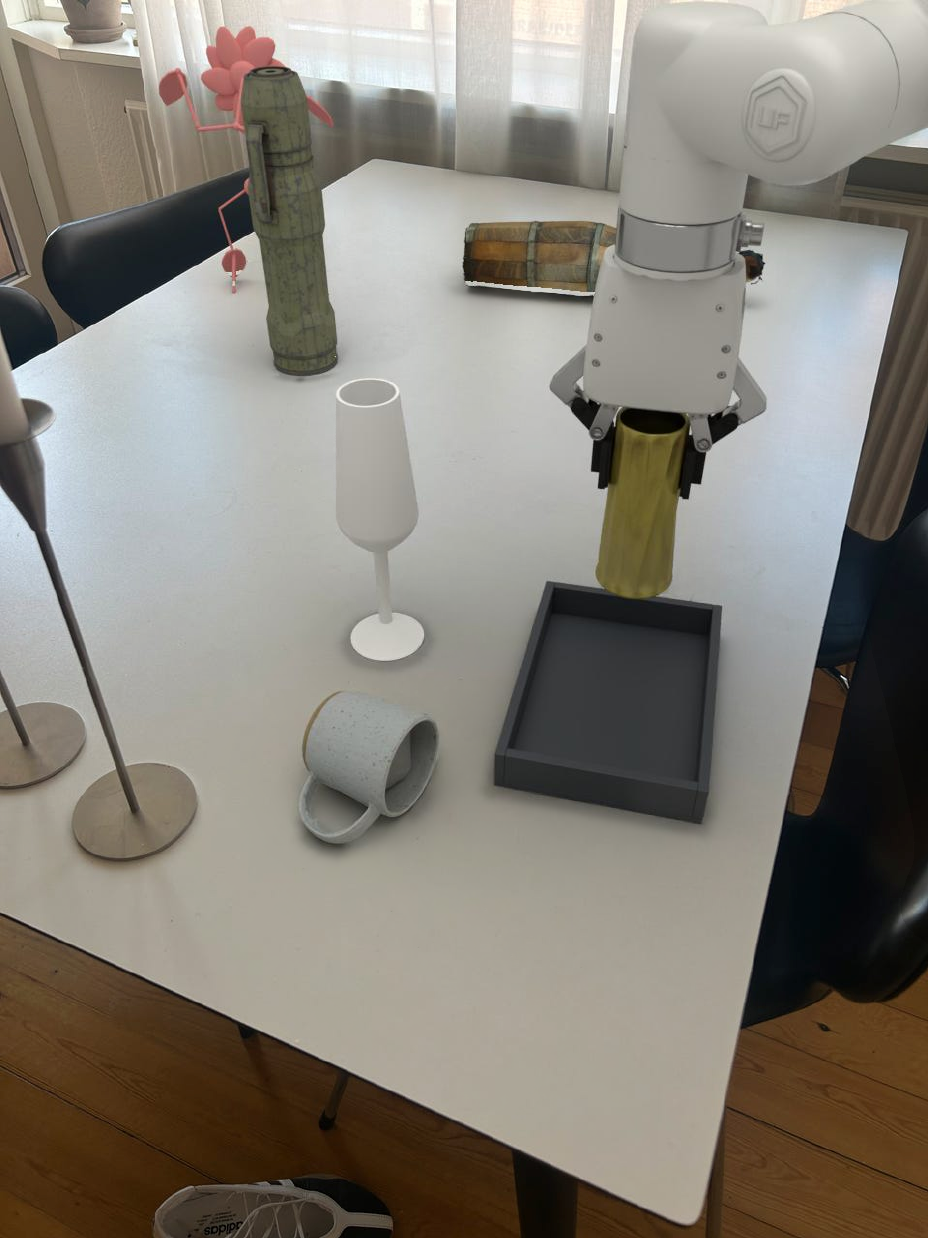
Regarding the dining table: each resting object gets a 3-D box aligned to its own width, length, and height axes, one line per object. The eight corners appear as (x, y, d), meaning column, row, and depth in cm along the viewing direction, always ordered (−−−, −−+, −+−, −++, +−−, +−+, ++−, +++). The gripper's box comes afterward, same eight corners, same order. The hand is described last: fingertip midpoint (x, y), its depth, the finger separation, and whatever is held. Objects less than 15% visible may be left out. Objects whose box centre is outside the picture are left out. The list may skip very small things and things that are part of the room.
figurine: (341, 301, 147) (315, 36, 125) (181, 292, 151) (128, 33, 128) (365, 265, 159) (346, 17, 136) (216, 257, 162) (174, 14, 140)
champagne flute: (420, 609, 90) (408, 369, 75) (428, 656, 85) (417, 410, 70) (348, 616, 89) (321, 375, 74) (352, 664, 84) (323, 417, 69)
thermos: (351, 346, 135) (326, 61, 112) (321, 383, 126) (286, 82, 103) (292, 340, 136) (255, 58, 114) (258, 376, 128) (211, 79, 105)
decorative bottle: (453, 280, 145) (762, 303, 135) (460, 206, 143) (775, 224, 133) (469, 293, 155) (757, 315, 146) (476, 223, 153) (769, 241, 144)
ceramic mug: (355, 731, 78) (346, 661, 73) (443, 768, 75) (439, 698, 70) (275, 824, 71) (258, 755, 66) (367, 869, 68) (357, 800, 63)
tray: (716, 636, 87) (722, 605, 84) (701, 824, 71) (708, 792, 68) (544, 610, 90) (546, 580, 87) (493, 785, 74) (494, 753, 71)
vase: (654, 609, 74) (678, 446, 65) (582, 586, 77) (595, 425, 68) (682, 568, 78) (708, 409, 69) (612, 546, 81) (629, 390, 72)
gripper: (816, 226, 62) (763, 472, 73) (551, 209, 65) (541, 447, 77) (820, 268, 56) (761, 527, 68) (530, 247, 59) (522, 497, 71)
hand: (644, 482), depth 72 cm, fingers closed on vase, 5 cm apart
